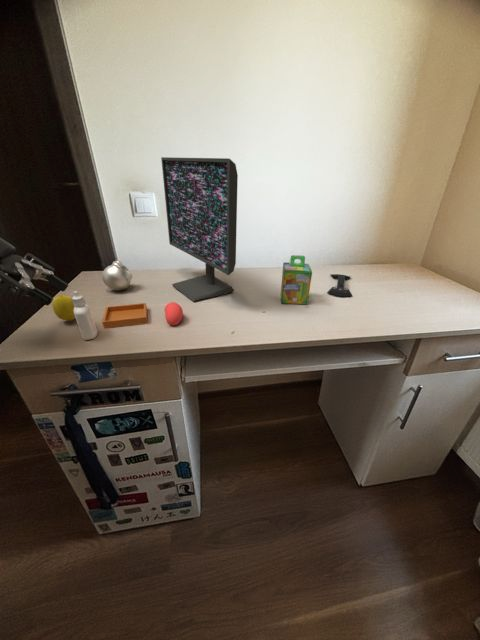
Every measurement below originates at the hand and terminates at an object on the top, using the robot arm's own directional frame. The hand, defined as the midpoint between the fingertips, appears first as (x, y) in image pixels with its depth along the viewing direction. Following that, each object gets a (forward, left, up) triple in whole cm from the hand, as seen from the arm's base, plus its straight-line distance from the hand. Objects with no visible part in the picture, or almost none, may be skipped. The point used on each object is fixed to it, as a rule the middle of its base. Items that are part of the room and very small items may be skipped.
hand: (58, 295), depth 67 cm
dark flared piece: (+90, +15, -11) cm, 92 cm away
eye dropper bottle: (+4, -1, -11) cm, 12 cm away
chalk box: (+66, +7, -11) cm, 68 cm away
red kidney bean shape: (+25, +2, -11) cm, 28 cm away
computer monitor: (+37, +24, -11) cm, 46 cm away
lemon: (-3, +9, -12) cm, 15 cm away
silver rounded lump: (+9, +31, -11) cm, 35 cm away
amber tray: (+12, +7, -11) cm, 18 cm away
